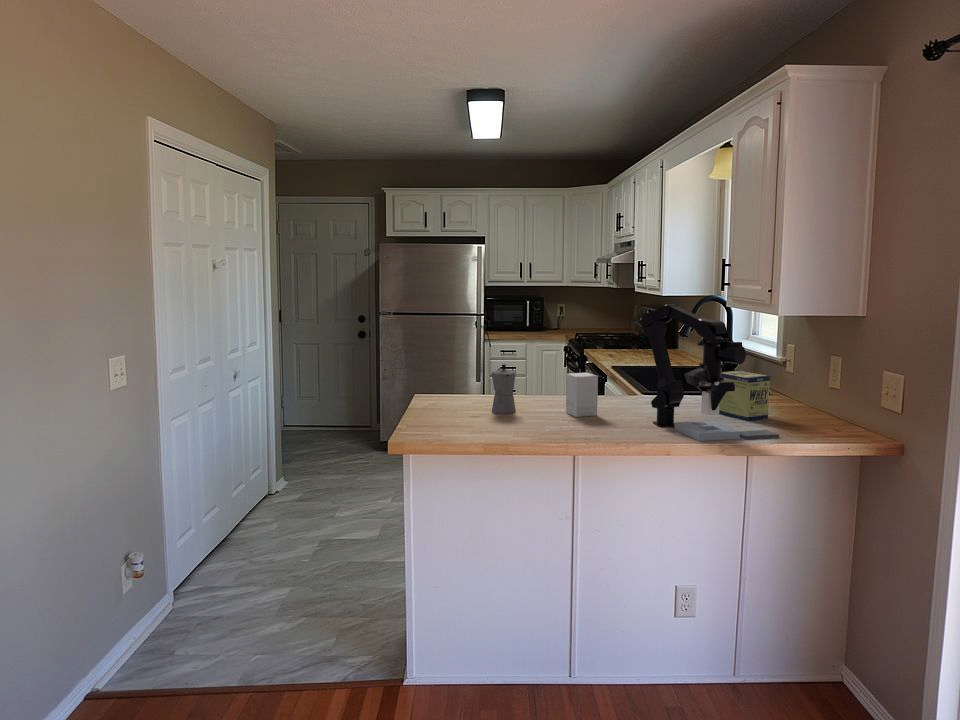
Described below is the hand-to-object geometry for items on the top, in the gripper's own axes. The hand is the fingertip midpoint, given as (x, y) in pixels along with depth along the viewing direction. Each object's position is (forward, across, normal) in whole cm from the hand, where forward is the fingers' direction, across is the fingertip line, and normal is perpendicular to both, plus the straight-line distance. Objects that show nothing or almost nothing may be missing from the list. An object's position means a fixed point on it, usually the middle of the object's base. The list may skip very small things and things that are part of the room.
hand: (710, 408), depth 221 cm
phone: (+9, +4, +14) cm, 17 cm away
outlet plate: (+9, -2, 0) cm, 9 cm away
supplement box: (+9, -40, -29) cm, 50 cm away
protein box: (+9, -25, +27) cm, 38 cm away
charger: (+2, 0, 0) cm, 2 cm away
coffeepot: (+9, -52, -56) cm, 77 cm away
